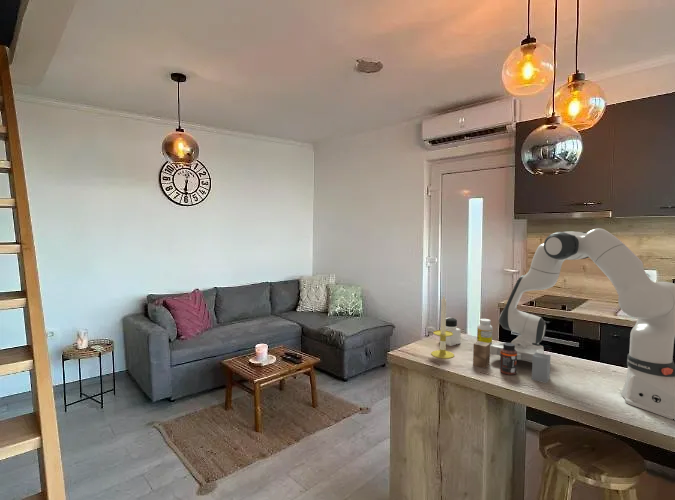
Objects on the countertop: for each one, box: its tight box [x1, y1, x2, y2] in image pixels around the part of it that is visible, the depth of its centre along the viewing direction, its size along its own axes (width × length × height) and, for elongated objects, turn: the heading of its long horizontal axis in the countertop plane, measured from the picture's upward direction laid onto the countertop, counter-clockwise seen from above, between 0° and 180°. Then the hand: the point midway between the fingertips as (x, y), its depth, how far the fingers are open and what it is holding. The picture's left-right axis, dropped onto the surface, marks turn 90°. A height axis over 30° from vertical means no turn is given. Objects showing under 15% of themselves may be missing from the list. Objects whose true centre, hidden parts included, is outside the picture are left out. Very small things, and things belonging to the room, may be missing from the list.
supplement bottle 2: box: [499, 342, 518, 376], centre depth 150 cm, size 6×6×11 cm
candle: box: [430, 295, 455, 360], centre depth 170 cm, size 10×10×27 cm
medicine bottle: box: [439, 317, 462, 347], centre depth 187 cm, size 7×7×12 cm
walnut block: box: [472, 340, 491, 369], centre depth 158 cm, size 5×5×9 cm
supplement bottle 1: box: [476, 318, 493, 345], centre depth 181 cm, size 7×7×13 cm
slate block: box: [531, 353, 552, 384], centre depth 144 cm, size 5×5×9 cm
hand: (511, 357), depth 153 cm, fingers closed, pressing on supplement bottle 2
